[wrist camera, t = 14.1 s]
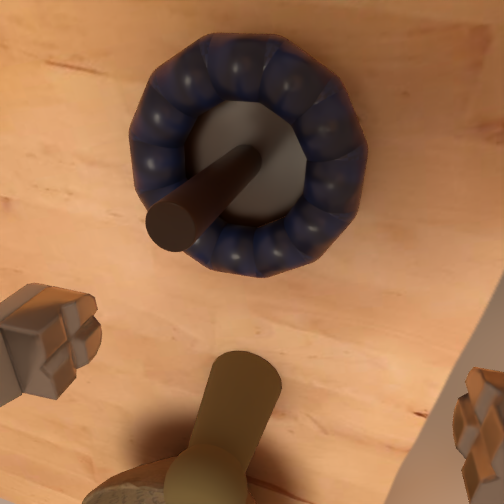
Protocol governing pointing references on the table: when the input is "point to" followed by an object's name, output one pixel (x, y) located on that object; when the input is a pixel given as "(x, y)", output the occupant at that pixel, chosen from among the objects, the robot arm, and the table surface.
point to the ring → (285, 106)
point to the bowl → (137, 486)
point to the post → (231, 175)
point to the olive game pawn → (225, 432)
